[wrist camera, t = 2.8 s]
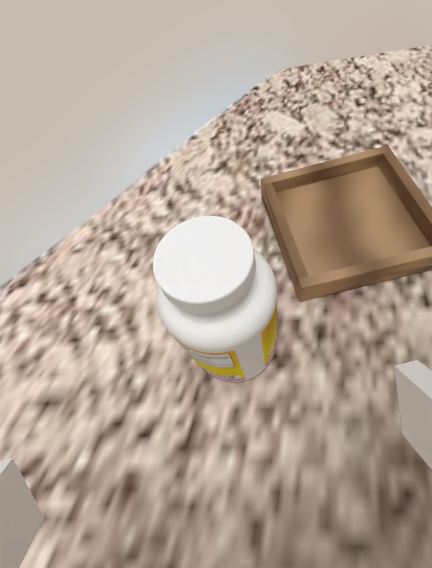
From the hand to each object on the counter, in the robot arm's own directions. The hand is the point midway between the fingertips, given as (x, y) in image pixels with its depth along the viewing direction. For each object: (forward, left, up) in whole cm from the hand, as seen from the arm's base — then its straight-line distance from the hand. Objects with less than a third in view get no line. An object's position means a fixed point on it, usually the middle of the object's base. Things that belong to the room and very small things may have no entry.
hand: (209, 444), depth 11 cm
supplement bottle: (-1, -7, -13) cm, 15 cm away
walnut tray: (-13, -15, -13) cm, 24 cm away
